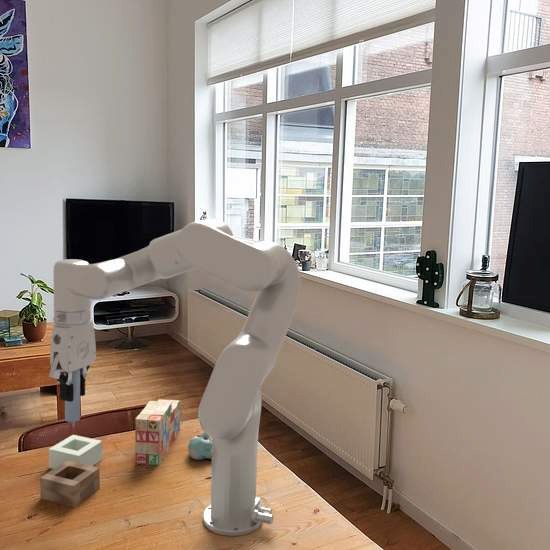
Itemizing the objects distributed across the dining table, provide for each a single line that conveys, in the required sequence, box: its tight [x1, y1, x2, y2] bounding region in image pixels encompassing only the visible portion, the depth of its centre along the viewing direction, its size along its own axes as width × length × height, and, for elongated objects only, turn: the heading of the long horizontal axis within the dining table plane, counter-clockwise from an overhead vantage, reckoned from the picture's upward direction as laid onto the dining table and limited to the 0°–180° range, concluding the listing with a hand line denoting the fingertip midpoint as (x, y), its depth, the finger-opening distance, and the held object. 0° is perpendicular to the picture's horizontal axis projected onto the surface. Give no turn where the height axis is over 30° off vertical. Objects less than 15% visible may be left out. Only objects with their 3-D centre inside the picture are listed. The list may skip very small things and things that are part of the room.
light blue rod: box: [64, 369, 81, 423], centre depth 131 cm, size 3×3×16 cm
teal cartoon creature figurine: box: [187, 431, 212, 461], centre depth 156 cm, size 11×7×12 cm
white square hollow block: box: [48, 434, 104, 470], centre depth 148 cm, size 9×9×5 cm
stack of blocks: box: [134, 398, 181, 466], centre depth 159 cm, size 21×6×12 cm, turn 175°
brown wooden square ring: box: [39, 460, 101, 508], centre depth 135 cm, size 9×9×5 cm
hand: (72, 396), depth 132 cm, fingers closed on light blue rod, 3 cm apart
